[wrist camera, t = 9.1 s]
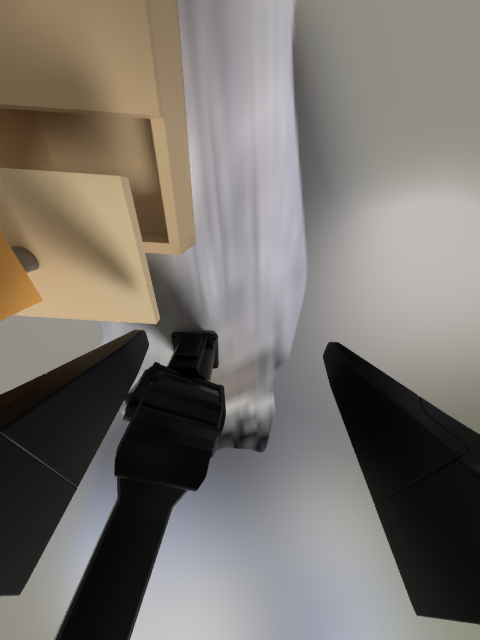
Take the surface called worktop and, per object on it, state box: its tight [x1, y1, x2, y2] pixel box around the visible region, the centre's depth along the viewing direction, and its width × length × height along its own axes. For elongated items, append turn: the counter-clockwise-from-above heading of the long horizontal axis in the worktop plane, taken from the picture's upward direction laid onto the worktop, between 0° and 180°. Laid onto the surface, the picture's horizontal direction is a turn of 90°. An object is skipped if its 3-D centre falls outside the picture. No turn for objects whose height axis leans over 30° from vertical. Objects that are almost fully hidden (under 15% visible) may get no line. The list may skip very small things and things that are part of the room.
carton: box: [0, 0, 195, 255], centre depth 12 cm, size 15×12×6 cm
